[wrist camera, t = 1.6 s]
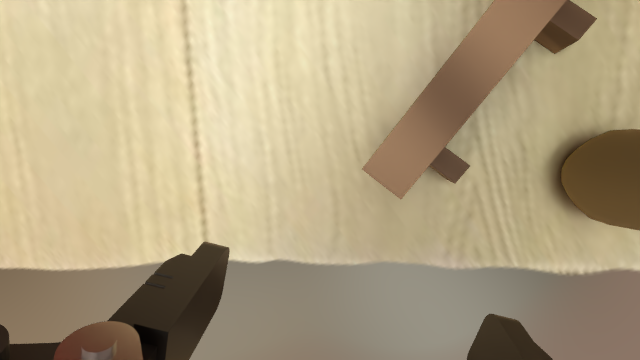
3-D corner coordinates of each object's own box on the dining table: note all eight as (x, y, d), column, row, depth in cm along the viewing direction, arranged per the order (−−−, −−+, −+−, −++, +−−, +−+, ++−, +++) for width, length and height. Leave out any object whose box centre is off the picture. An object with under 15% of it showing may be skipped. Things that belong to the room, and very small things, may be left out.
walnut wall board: (525, -32, 31) (835, -434, 10) (590, 11, 30) (1078, -318, 9) (376, 156, 35) (362, 169, 14) (431, 198, 35) (503, 279, 13)
